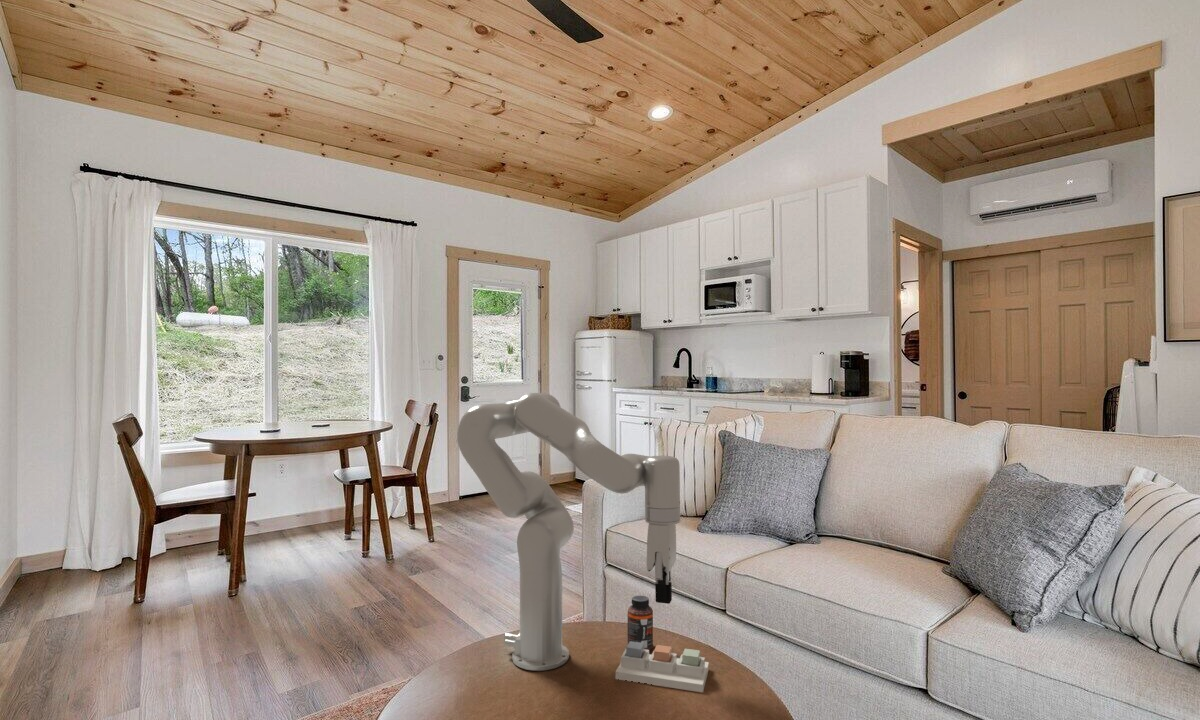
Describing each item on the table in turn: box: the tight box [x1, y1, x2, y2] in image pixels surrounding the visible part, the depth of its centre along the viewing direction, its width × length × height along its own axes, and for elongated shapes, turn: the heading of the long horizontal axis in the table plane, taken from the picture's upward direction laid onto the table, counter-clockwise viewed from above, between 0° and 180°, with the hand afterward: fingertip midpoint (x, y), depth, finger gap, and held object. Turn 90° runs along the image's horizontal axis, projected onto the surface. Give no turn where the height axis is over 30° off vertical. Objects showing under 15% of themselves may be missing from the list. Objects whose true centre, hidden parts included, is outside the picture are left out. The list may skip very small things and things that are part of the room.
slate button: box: [625, 641, 644, 658], centre depth 123 cm, size 3×3×2 cm
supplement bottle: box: [627, 595, 654, 651], centre depth 134 cm, size 6×6×11 cm
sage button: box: [682, 648, 701, 666], centre depth 120 cm, size 3×3×2 cm
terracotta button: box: [653, 644, 673, 662], centre depth 122 cm, size 3×3×2 cm
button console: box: [614, 648, 710, 693], centre depth 122 cm, size 18×10×4 cm, turn 73°
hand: (663, 601), depth 122 cm, fingers closed
